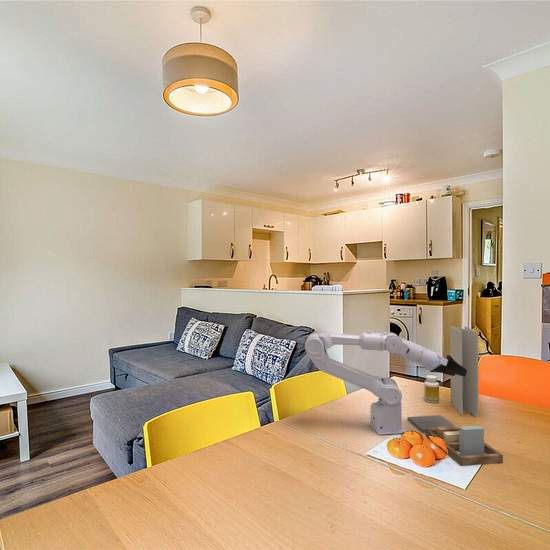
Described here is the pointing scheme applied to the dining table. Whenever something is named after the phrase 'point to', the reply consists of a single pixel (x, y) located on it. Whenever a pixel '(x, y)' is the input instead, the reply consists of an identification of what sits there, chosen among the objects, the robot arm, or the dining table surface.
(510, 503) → the dining table surface
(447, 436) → the birch offcut
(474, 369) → the brochure
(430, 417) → the rubber mat
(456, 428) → the stained offcut
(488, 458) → the walnut rack
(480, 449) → the grey rectangular block
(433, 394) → the supplement bottle
